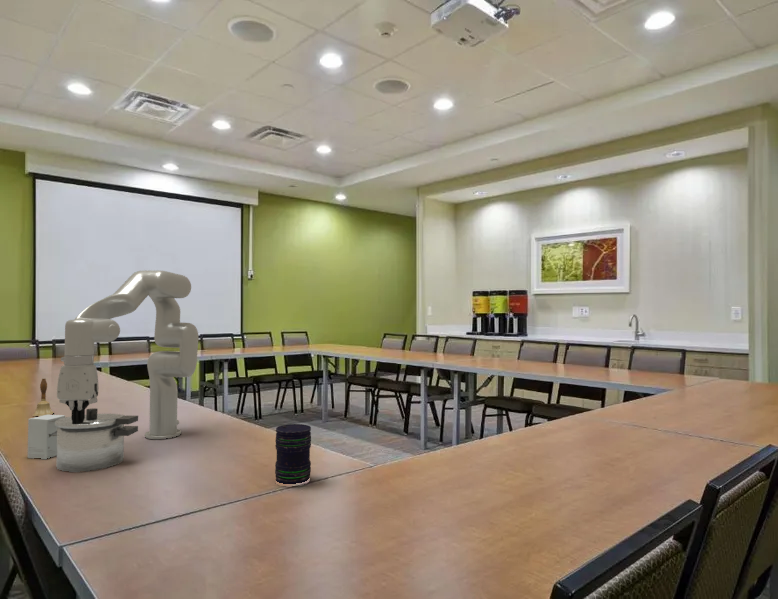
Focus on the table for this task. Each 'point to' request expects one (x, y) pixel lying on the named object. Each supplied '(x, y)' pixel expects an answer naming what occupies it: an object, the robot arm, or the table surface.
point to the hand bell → (43, 402)
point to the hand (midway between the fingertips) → (78, 422)
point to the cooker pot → (91, 447)
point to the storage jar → (293, 453)
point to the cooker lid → (95, 420)
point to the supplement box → (42, 436)
